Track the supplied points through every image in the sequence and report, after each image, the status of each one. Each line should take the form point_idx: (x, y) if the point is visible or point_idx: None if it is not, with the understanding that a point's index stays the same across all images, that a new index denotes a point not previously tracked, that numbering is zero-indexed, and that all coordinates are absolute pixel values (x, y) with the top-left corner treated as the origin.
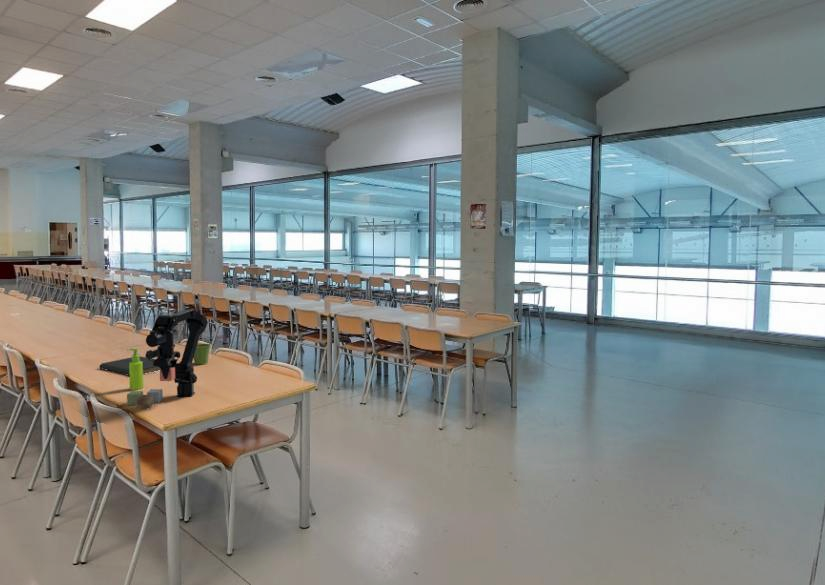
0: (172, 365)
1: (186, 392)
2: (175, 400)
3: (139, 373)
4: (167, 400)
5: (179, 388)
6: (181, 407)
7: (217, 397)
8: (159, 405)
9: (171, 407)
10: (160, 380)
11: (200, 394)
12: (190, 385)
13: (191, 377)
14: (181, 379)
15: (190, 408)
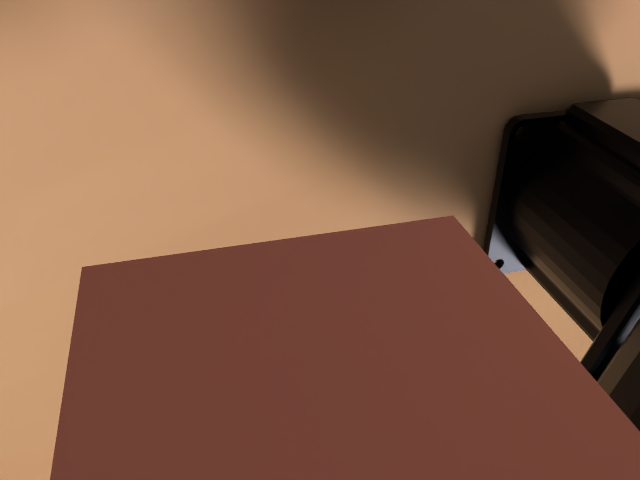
0: None
1: (526, 244)
2: (354, 156)
3: None
4: (366, 46)
5: (604, 177)
6: (47, 344)
7: None
8: (97, 29)
9: (24, 239)
10: (82, 295)
11: (549, 311)
12: (592, 330)
13: None
14: (627, 338)
15: (26, 435)
